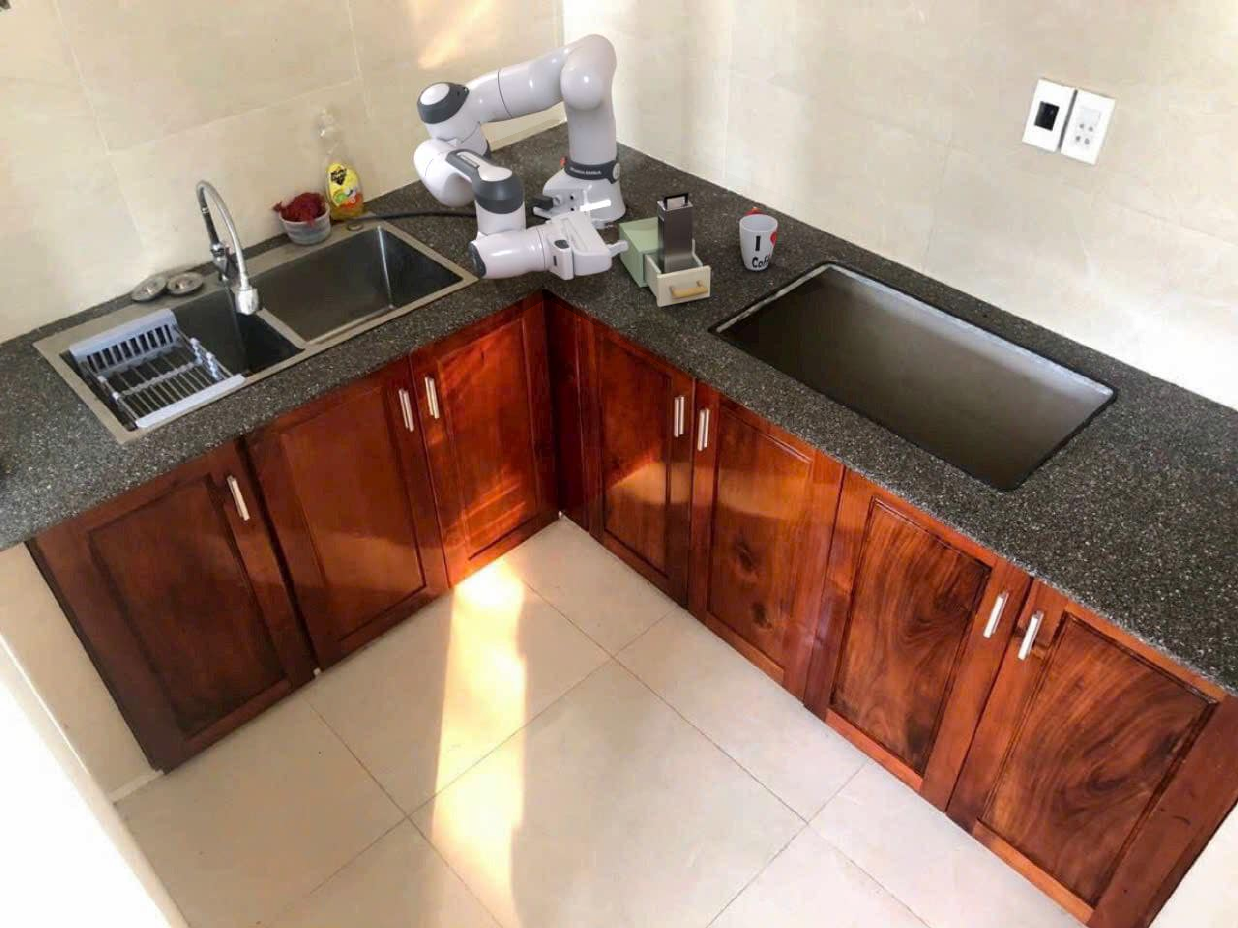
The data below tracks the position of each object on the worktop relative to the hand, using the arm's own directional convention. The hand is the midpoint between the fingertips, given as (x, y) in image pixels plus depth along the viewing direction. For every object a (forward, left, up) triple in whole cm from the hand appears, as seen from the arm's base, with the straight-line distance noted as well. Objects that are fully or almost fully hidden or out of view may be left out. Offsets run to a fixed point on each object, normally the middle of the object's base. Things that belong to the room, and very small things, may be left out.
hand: (619, 234), depth 199 cm
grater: (+9, +8, -14) cm, 18 cm away
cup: (+21, +25, -16) cm, 37 cm away
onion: (+17, +36, -16) cm, 43 cm away
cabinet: (+1, +16, -16) cm, 23 cm away
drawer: (+10, +7, -15) cm, 19 cm away
